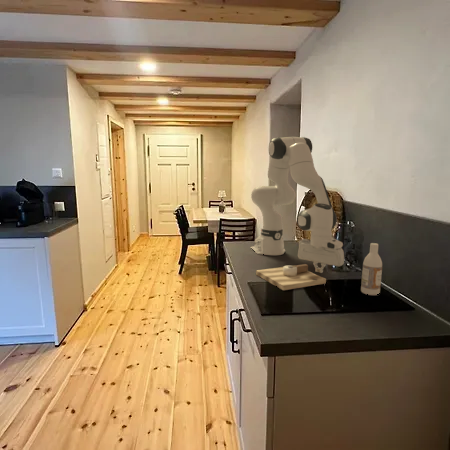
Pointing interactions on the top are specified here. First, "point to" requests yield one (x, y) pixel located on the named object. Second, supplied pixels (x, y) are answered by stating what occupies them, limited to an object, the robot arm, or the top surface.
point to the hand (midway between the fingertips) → (319, 272)
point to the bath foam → (372, 272)
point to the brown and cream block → (294, 269)
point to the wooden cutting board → (290, 278)
